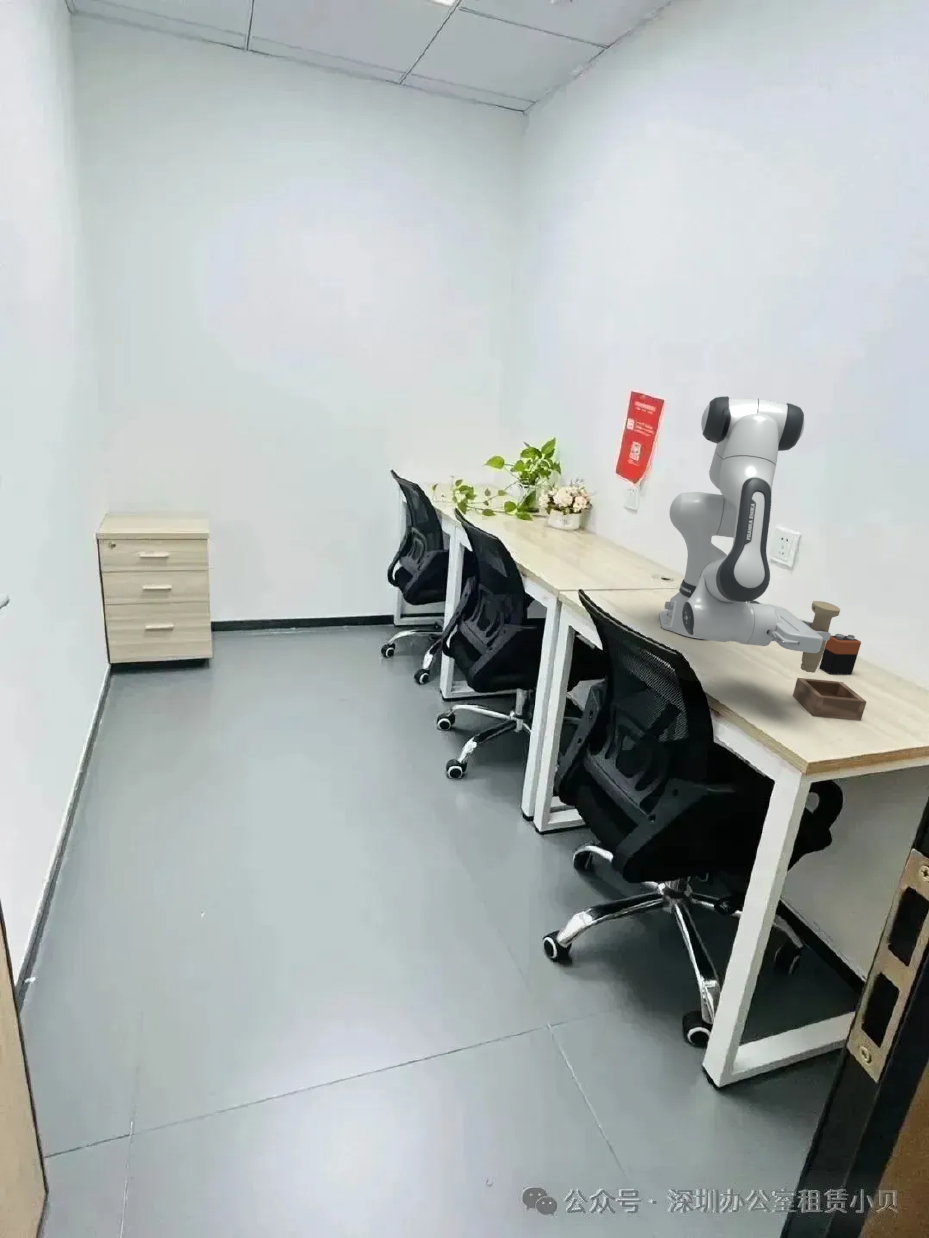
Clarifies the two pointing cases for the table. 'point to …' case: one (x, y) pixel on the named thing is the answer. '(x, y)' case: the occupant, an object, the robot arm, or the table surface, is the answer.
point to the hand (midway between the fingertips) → (823, 631)
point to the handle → (820, 622)
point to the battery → (840, 654)
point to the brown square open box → (829, 699)
